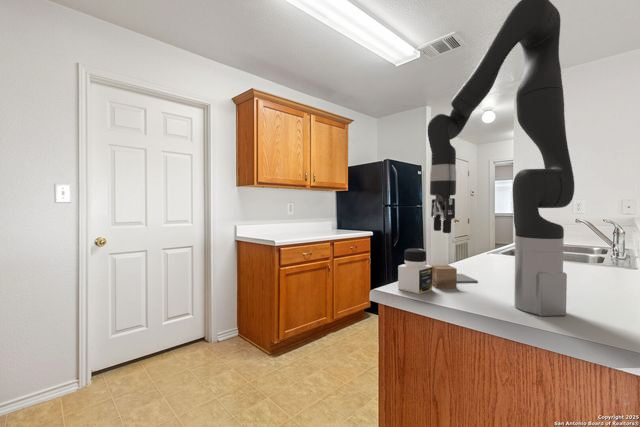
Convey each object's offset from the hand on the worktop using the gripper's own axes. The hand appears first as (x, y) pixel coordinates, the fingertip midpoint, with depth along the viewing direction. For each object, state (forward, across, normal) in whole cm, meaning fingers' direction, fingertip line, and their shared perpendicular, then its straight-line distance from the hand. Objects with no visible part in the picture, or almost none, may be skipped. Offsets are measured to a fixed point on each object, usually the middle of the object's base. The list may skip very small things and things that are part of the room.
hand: (441, 231), depth 94 cm
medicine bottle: (+17, -7, +10) cm, 21 cm away
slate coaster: (+16, +7, -7) cm, 19 cm away
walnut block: (+17, -2, 0) cm, 17 cm away
